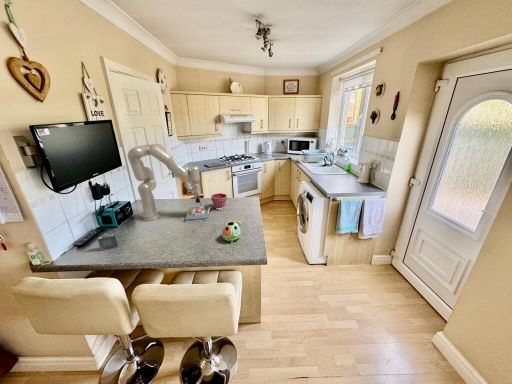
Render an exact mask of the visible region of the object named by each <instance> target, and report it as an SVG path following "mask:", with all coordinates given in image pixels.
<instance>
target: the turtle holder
mask: <svg viewBox="0 0 512 384" xmlns="http://www.w3.org/2000/svg"><path fill="white" fill-rule="evenodd" d="M241 225H242V223H241V221H240V220H237V221H233V220H230V221H228V222H226V223H225V225H224V226H223V227H222V228H221V236H222V238H223V239H222V240H225V241H228V242H230V243H231V242H233V241H236V240H239V237H241V234H242V233H241ZM233 243H234V242H233Z"/></svg>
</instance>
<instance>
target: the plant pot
mask: <svg viewBox="0 0 512 384" xmlns="http://www.w3.org/2000/svg"><path fill="white" fill-rule="evenodd" d="M210 197H211V199H210V200H211V201H212V204H213V206H214V209H215V208H222V207H224V206H225V207H226V202H227V200H228V195H227V194H225V193H221V192H220V193H218V192H217V193H214V194H212V195H210Z"/></svg>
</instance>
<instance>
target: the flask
mask: <svg viewBox="0 0 512 384" xmlns="http://www.w3.org/2000/svg"><path fill="white" fill-rule="evenodd" d="M97 242H98V246H99V249H100V251H101V252H102V251H107V250H111V249H115V248H118V246H119V245H118V242H117V239H116V236H115V234H107V232H106V233H104V234H103V236H100V237H97Z"/></svg>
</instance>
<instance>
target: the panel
mask: <svg viewBox="0 0 512 384" xmlns="http://www.w3.org/2000/svg"><path fill="white" fill-rule="evenodd" d="M210 207H211V206H209V210H205V206H202V207H200V206H191V207H190V208H189V209H192V211H193V213H192V214H188V212H187V214H186V217H185V221H194V220H205V219H208V220H209V218H208V216H209V217H210V214H209V211H210V212H211V210H210ZM211 208H212V207H211ZM196 209H201V212H200V213H196ZM194 222H195V221H194Z"/></svg>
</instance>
